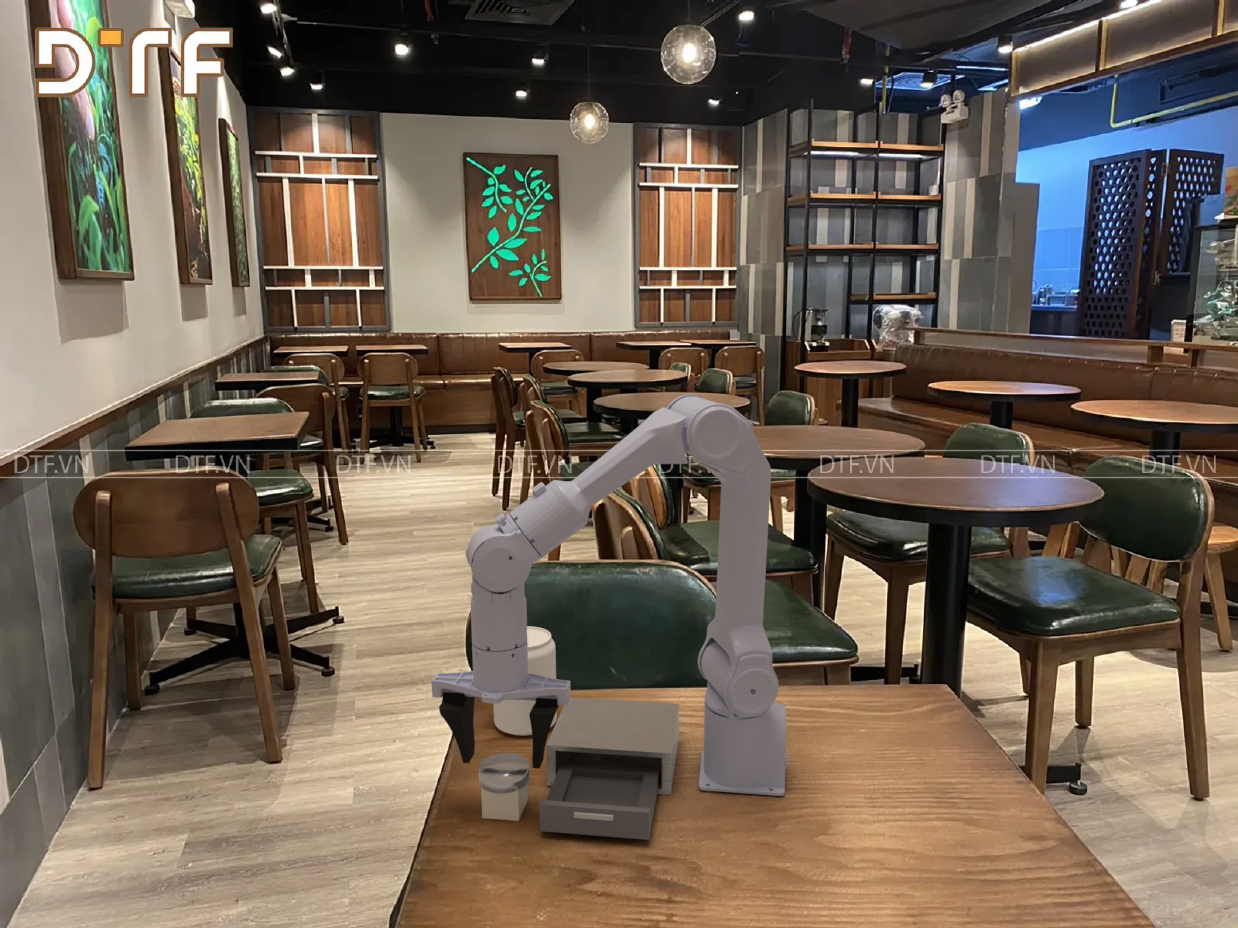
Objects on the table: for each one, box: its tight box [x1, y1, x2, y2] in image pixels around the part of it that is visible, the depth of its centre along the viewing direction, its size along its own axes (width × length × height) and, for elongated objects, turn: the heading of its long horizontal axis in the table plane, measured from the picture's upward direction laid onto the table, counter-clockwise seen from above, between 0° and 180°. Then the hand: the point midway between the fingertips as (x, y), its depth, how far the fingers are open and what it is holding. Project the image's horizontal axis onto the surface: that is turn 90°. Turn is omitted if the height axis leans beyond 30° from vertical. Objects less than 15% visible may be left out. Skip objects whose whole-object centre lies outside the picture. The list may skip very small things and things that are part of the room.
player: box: [545, 697, 680, 796], centre depth 103 cm, size 14×12×5 cm
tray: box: [538, 761, 660, 841], centre depth 93 cm, size 11×11×3 cm
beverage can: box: [493, 625, 558, 737], centre depth 112 cm, size 8×8×12 cm
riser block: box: [480, 783, 529, 822], centre depth 94 cm, size 4×4×4 cm
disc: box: [478, 752, 531, 793], centre depth 94 cm, size 5×5×2 cm
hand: (503, 761), depth 93 cm, fingers open, 7 cm apart
